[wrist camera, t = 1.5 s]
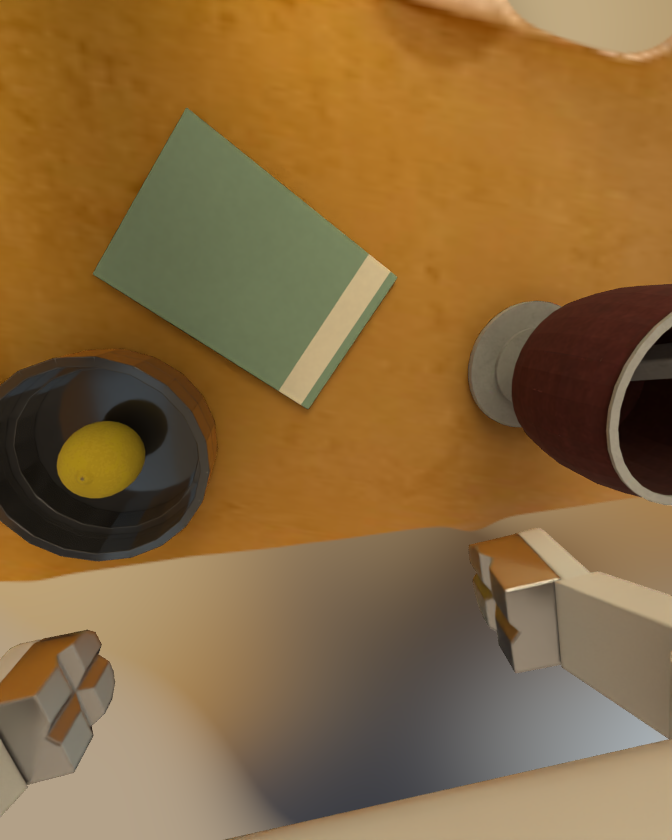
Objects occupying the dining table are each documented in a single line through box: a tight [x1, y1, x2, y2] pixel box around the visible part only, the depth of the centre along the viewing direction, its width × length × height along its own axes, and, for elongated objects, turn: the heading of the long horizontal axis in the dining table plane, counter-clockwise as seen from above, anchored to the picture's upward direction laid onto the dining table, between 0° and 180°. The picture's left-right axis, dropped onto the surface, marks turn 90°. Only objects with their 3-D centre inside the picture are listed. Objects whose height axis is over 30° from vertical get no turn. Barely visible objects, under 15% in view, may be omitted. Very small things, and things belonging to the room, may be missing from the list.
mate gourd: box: [468, 284, 672, 505], centre depth 30 cm, size 16×14×20 cm
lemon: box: [57, 421, 145, 498], centre depth 31 cm, size 6×6×8 cm
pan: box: [0, 349, 218, 561], centre depth 32 cm, size 16×16×6 cm
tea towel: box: [93, 108, 397, 409], centre depth 33 cm, size 20×14×1 cm
